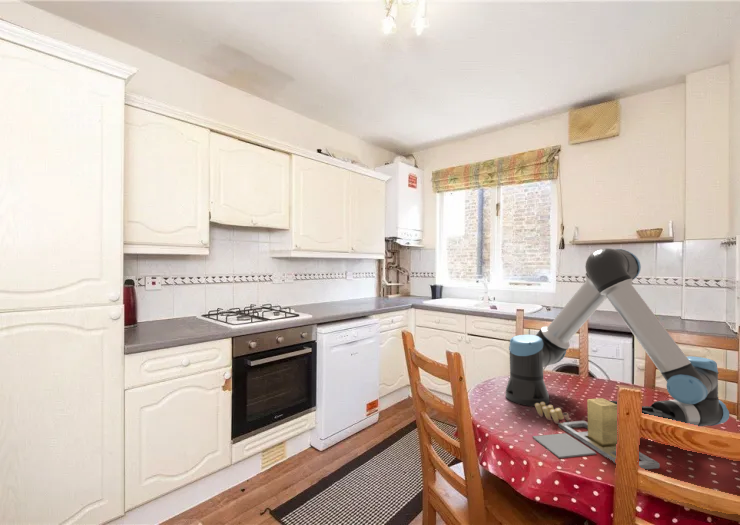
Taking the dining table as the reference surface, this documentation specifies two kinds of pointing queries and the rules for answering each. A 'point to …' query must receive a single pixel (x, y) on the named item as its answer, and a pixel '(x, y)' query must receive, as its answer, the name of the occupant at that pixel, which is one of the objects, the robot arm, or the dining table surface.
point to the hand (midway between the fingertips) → (610, 420)
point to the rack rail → (606, 451)
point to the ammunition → (551, 412)
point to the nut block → (602, 422)
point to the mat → (563, 445)
